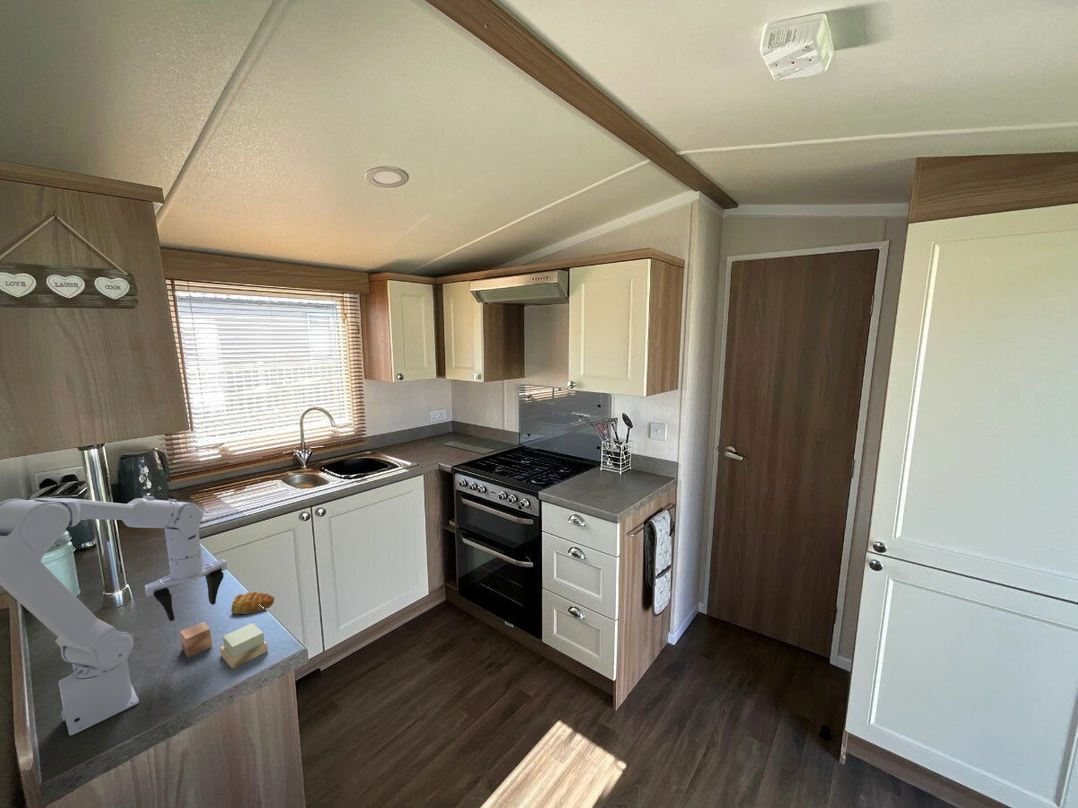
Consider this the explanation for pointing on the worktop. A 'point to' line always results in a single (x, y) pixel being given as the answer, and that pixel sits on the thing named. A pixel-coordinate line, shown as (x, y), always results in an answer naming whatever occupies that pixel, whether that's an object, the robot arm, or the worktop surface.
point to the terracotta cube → (195, 639)
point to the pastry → (251, 603)
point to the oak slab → (243, 655)
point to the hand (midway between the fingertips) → (192, 610)
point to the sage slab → (243, 639)
